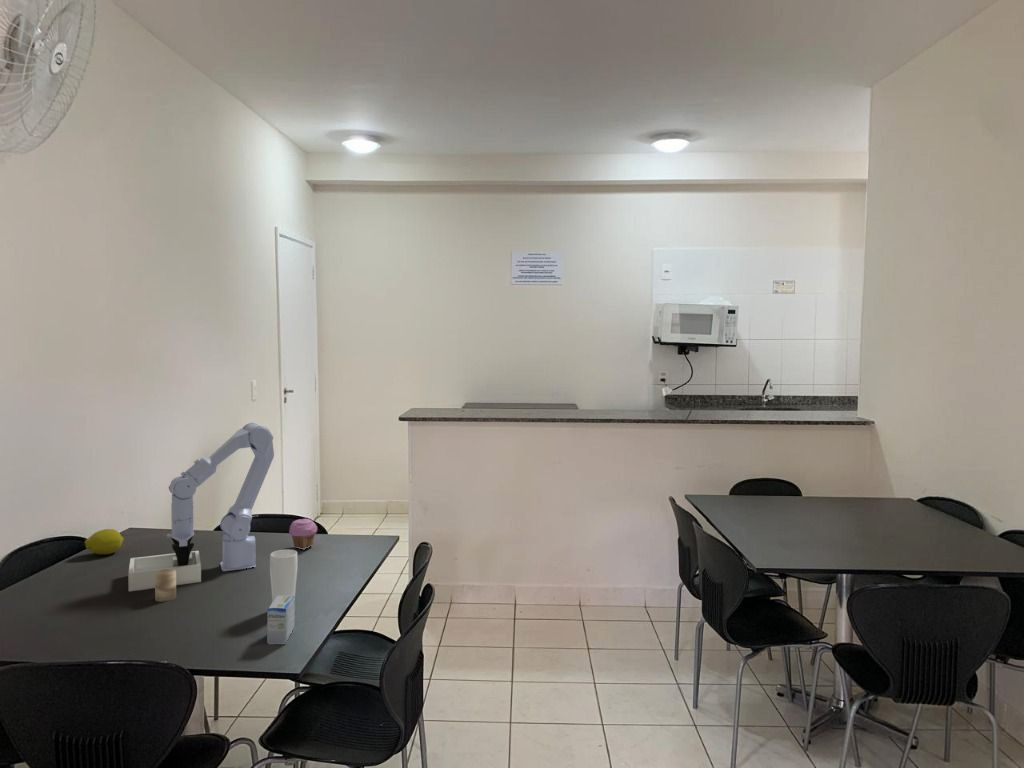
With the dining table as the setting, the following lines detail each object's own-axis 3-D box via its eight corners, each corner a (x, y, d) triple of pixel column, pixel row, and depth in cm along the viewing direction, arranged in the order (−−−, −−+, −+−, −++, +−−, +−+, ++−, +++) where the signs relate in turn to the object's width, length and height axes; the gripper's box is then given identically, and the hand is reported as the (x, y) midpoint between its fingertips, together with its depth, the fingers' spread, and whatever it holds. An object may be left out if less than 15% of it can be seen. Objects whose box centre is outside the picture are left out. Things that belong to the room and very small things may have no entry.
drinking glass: (271, 617, 167) (271, 558, 166) (268, 607, 173) (268, 551, 172) (299, 612, 170) (299, 555, 169) (294, 603, 176) (295, 547, 175)
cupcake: (305, 553, 217) (305, 523, 216) (283, 550, 220) (283, 520, 219) (322, 546, 225) (322, 517, 224) (301, 543, 228) (301, 514, 228)
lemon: (122, 548, 218) (122, 524, 217) (126, 554, 211) (126, 530, 211) (83, 554, 211) (83, 529, 210) (86, 561, 205) (85, 535, 204)
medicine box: (276, 630, 160) (276, 595, 160) (295, 630, 160) (295, 595, 160) (266, 645, 152) (266, 608, 152) (286, 644, 153) (286, 608, 152)
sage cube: (191, 569, 197) (191, 553, 197) (192, 575, 193) (192, 558, 193) (172, 572, 195) (172, 555, 195) (173, 577, 190) (173, 560, 190)
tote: (198, 566, 202) (198, 550, 202) (201, 581, 190) (200, 564, 190) (130, 575, 194) (130, 558, 193) (128, 591, 181) (128, 573, 181)
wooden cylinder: (176, 593, 181) (175, 568, 181) (176, 599, 177) (176, 574, 176) (155, 596, 179) (155, 570, 178) (155, 602, 174) (154, 576, 174)
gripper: (166, 513, 197) (167, 558, 198) (167, 525, 185) (167, 573, 185) (193, 511, 201) (193, 555, 202) (195, 523, 188) (195, 570, 189)
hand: (182, 563), depth 194 cm, fingers open, 6 cm apart
